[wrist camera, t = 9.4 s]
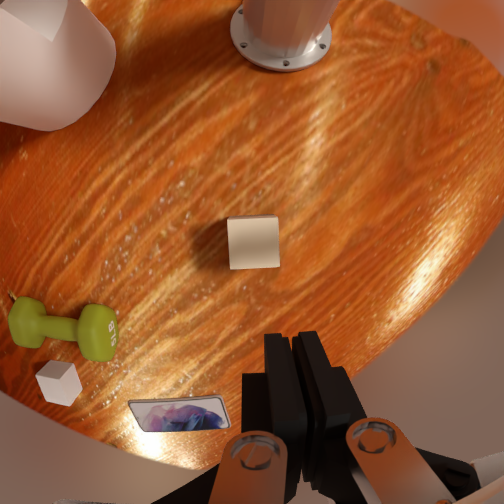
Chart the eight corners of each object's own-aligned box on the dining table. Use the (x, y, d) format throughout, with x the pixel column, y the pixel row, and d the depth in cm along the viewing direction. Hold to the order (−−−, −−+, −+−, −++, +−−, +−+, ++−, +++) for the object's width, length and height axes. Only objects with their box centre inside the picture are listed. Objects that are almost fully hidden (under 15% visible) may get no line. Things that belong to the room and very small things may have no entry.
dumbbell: (119, 295, 36) (95, 317, 29) (126, 349, 38) (107, 377, 31) (28, 287, 36) (-1, 302, 29) (37, 335, 37) (12, 355, 30)
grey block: (50, 359, 38) (35, 374, 33) (73, 363, 38) (59, 379, 33) (59, 384, 39) (46, 400, 34) (82, 388, 39) (70, 406, 34)
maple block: (229, 216, 35) (227, 219, 30) (273, 214, 35) (278, 217, 30) (232, 258, 36) (230, 269, 31) (274, 256, 36) (279, 266, 31)
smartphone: (231, 428, 40) (142, 432, 40) (232, 424, 41) (144, 429, 41) (221, 395, 39) (126, 401, 39) (221, 392, 39) (127, 398, 40)
